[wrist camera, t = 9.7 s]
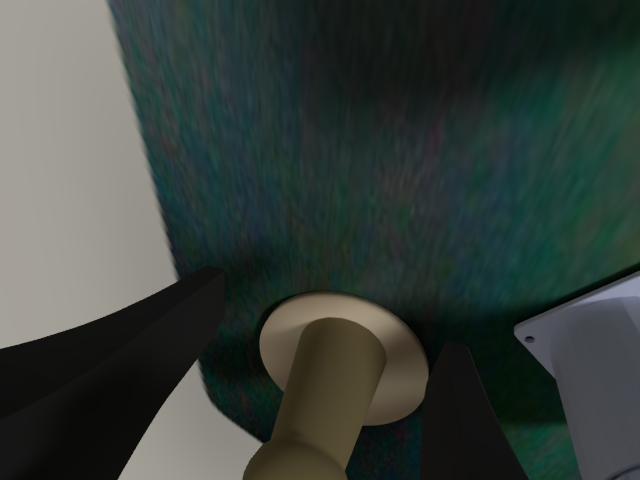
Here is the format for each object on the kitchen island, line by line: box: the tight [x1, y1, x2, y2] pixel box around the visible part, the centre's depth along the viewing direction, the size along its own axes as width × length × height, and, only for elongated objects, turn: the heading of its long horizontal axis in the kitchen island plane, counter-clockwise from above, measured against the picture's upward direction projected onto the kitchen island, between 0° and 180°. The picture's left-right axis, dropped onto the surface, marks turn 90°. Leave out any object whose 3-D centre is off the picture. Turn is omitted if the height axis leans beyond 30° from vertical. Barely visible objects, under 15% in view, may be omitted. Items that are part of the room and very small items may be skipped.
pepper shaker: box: [243, 317, 387, 480], centre depth 22 cm, size 6×6×11 cm
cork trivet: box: [260, 291, 429, 426], centre depth 28 cm, size 12×12×1 cm
